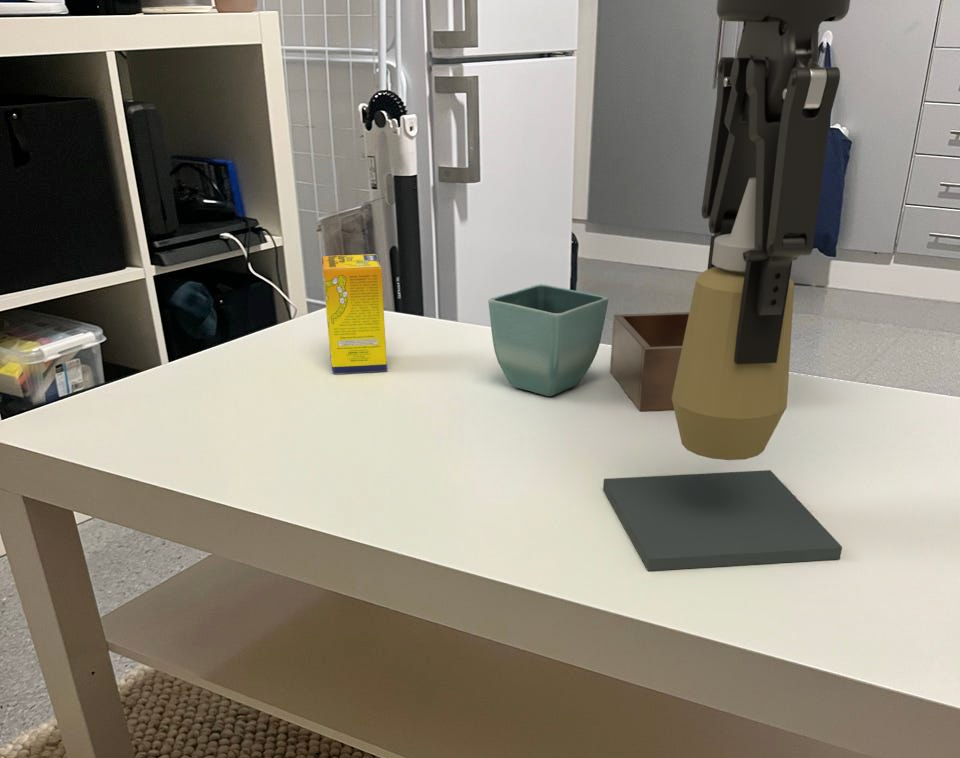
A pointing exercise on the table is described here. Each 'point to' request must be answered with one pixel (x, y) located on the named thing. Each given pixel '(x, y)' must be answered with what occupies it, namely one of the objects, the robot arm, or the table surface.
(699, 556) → the mat
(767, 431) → the squeeze bottle
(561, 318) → the flower pot
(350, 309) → the supplement box
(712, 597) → the table surface
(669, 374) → the box
